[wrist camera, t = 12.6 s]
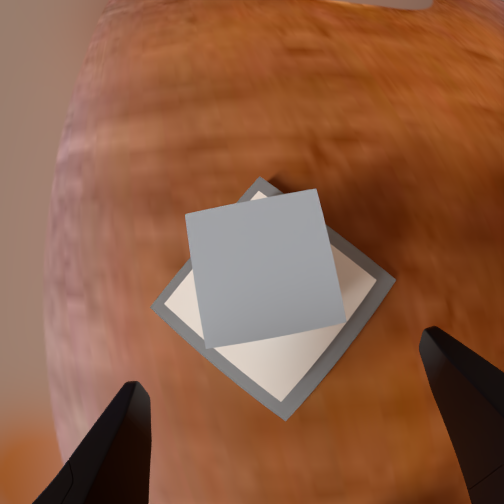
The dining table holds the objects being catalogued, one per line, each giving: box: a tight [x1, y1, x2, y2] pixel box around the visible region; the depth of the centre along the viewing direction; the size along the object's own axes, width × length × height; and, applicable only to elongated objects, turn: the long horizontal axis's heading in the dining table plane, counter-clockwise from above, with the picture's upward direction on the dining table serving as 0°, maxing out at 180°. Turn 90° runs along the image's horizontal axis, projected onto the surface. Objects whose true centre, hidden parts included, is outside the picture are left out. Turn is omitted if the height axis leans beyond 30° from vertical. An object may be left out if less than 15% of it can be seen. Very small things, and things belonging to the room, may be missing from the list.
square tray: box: [150, 177, 396, 421], centre depth 22 cm, size 12×12×2 cm
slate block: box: [185, 189, 347, 349], centre depth 14 cm, size 4×4×9 cm
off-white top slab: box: [164, 191, 377, 402], centre depth 20 cm, size 9×9×2 cm
